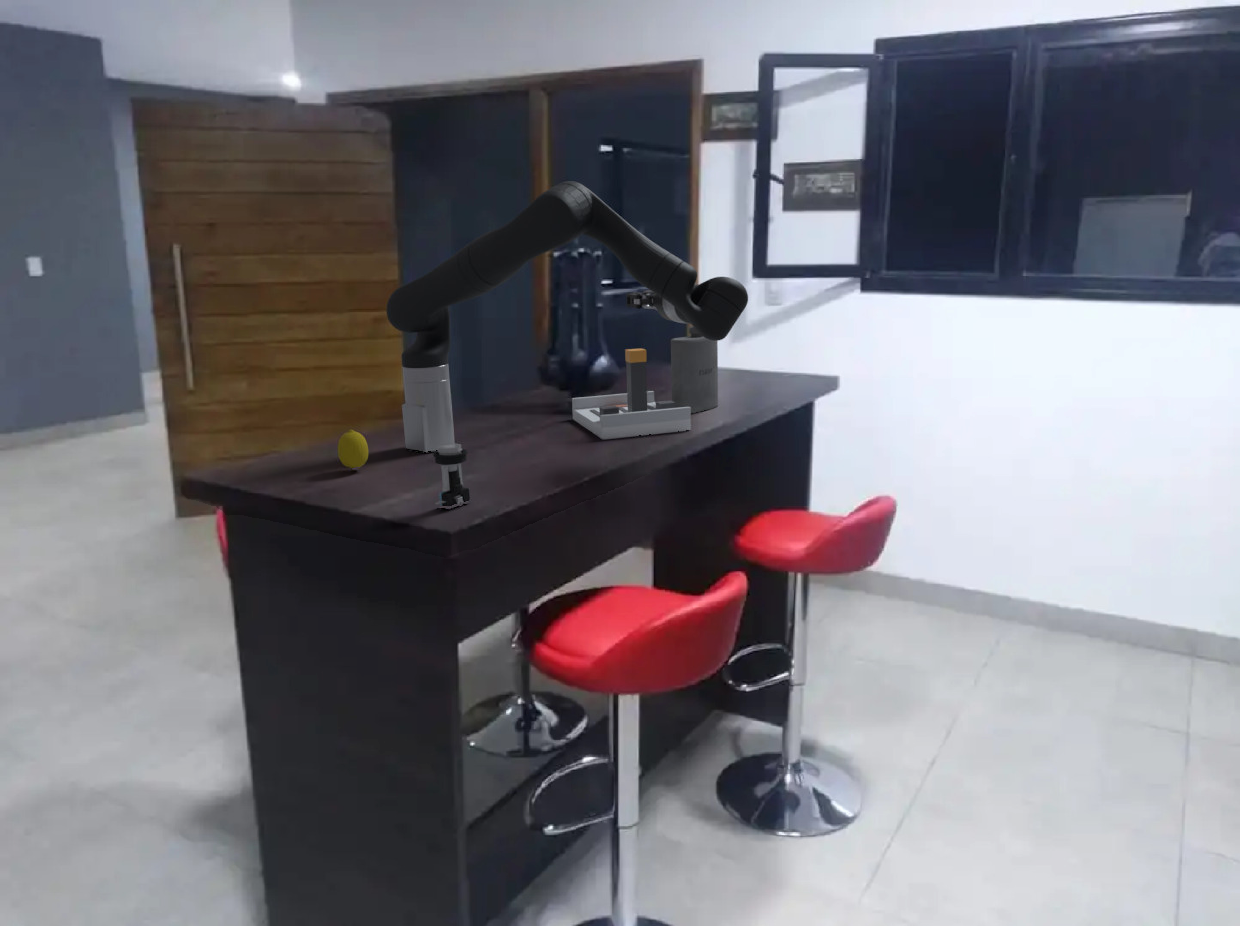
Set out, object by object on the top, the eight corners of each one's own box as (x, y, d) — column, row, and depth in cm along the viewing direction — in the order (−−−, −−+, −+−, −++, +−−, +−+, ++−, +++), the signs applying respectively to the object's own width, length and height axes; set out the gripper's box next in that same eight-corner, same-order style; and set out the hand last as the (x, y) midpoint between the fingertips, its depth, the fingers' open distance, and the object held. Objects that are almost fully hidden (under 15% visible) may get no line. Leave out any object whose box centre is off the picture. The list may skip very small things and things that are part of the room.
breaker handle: (648, 416, 197) (646, 349, 194) (632, 418, 196) (629, 351, 193) (643, 413, 200) (641, 348, 197) (627, 415, 199) (625, 349, 196)
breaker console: (691, 430, 196) (690, 405, 195) (602, 439, 191) (601, 413, 189) (653, 411, 219) (652, 388, 217) (572, 419, 213) (571, 396, 211)
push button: (448, 515, 142) (442, 453, 139) (424, 510, 145) (419, 449, 143) (478, 504, 147) (473, 444, 145) (454, 499, 150) (450, 441, 148)
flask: (687, 416, 212) (685, 329, 207) (668, 413, 216) (666, 328, 211) (724, 405, 223) (724, 323, 218) (705, 403, 226) (704, 322, 221)
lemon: (345, 467, 174) (341, 427, 172) (374, 467, 174) (369, 426, 172) (336, 475, 169) (331, 433, 167) (365, 474, 169) (361, 432, 167)
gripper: (717, 279, 168) (684, 276, 183) (645, 283, 164) (617, 279, 179) (717, 320, 170) (684, 313, 185) (646, 324, 166) (618, 317, 181)
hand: (651, 296), depth 182 cm, fingers open, 8 cm apart
